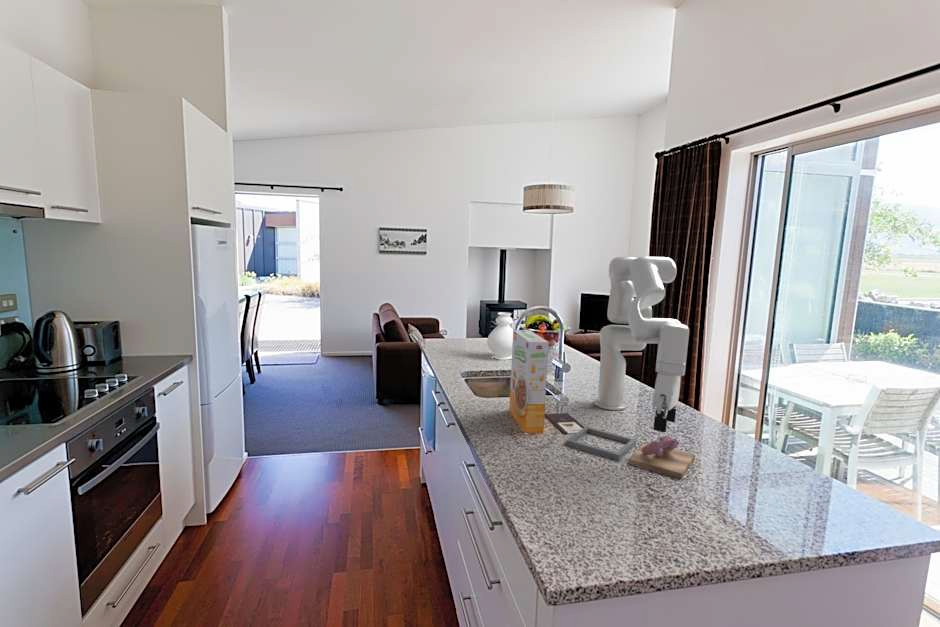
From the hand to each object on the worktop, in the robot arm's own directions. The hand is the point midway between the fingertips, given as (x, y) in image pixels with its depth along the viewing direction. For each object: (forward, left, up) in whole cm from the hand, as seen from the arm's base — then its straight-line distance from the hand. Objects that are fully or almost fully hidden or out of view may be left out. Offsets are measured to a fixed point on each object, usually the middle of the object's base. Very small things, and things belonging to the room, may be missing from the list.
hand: (664, 425), depth 134 cm
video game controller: (0, 0, -9) cm, 9 cm away
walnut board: (+1, 0, -10) cm, 10 cm away
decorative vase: (-80, -106, -11) cm, 133 cm away
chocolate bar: (-9, -34, -11) cm, 37 cm away
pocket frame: (+1, -18, -10) cm, 20 cm away
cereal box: (-1, -46, -11) cm, 47 cm away
